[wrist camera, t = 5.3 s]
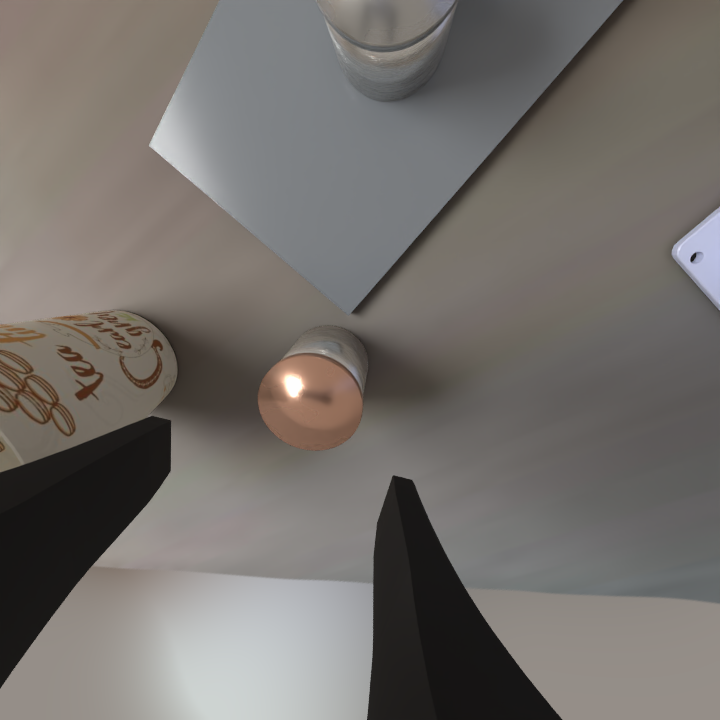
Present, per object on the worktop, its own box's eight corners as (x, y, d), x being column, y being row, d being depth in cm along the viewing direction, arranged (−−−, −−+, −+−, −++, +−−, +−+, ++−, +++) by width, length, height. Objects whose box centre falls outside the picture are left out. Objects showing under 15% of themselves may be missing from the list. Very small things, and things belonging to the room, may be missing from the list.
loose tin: (386, 360, 19) (384, 404, 14) (336, 412, 21) (318, 467, 16) (323, 306, 18) (298, 334, 14) (275, 364, 20) (238, 408, 15)
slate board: (669, -55, 12) (682, -69, 12) (349, 313, 18) (348, 315, 18) (427, -394, 10) (429, -431, 10) (157, 148, 16) (148, 145, 16)
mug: (224, 390, 21) (86, 522, 12) (81, 454, 24) (-118, 600, 15) (137, 263, 18) (-123, 302, 9) (-9, 353, 21) (-316, 450, 12)
